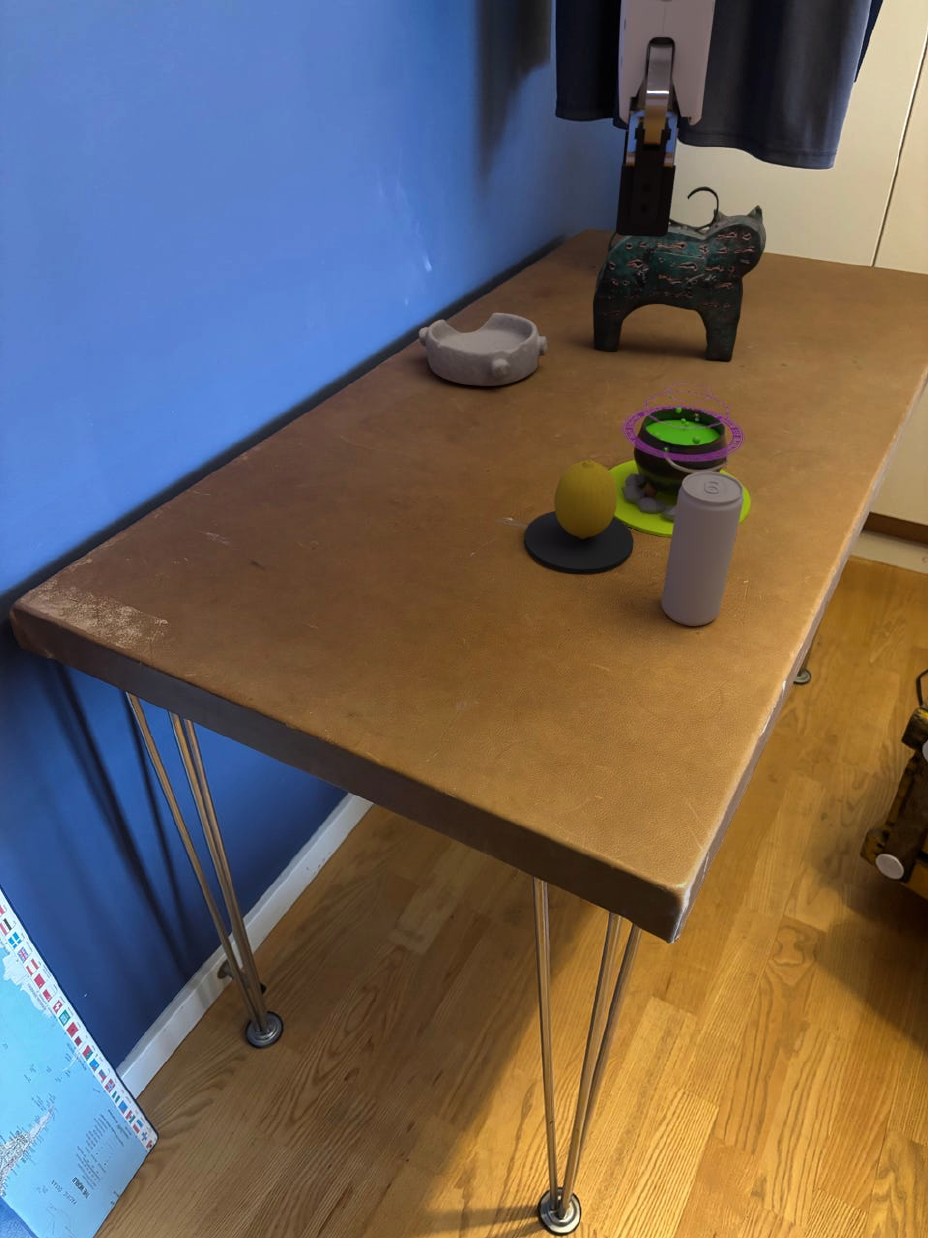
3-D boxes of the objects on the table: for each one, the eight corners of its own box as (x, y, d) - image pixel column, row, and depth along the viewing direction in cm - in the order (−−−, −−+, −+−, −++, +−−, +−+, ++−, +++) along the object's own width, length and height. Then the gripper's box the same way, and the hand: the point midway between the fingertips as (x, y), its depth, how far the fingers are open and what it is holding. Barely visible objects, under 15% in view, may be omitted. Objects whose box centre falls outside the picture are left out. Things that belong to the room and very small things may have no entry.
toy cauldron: (721, 555, 82) (742, 445, 76) (571, 510, 89) (579, 405, 82) (770, 482, 92) (793, 379, 85) (632, 446, 99) (644, 348, 92)
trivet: (607, 506, 89) (608, 501, 89) (651, 563, 82) (651, 558, 81) (510, 522, 87) (510, 517, 87) (545, 582, 79) (545, 576, 79)
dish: (407, 364, 116) (404, 326, 113) (491, 338, 123) (492, 301, 120) (476, 403, 107) (476, 363, 104) (564, 373, 114) (566, 334, 111)
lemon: (542, 545, 83) (546, 467, 78) (566, 516, 87) (572, 440, 82) (599, 561, 81) (607, 482, 76) (621, 530, 85) (630, 454, 80)
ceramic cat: (744, 349, 119) (776, 184, 106) (744, 369, 114) (776, 198, 102) (593, 336, 123) (606, 176, 110) (586, 355, 118) (599, 189, 105)
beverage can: (656, 623, 75) (676, 497, 67) (664, 589, 78) (683, 466, 71) (716, 633, 74) (743, 506, 66) (721, 599, 77) (747, 475, 70)
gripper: (761, -118, 43) (704, 256, 54) (735, -117, 56) (694, 182, 67) (601, -116, 44) (577, 251, 55) (613, -115, 57) (592, 179, 68)
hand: (642, 213), depth 61 cm, fingers open, 9 cm apart
